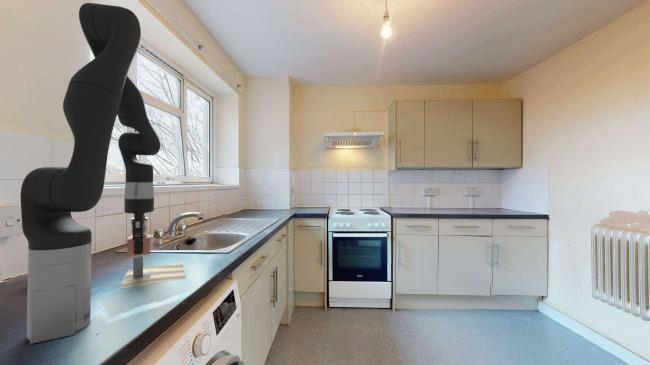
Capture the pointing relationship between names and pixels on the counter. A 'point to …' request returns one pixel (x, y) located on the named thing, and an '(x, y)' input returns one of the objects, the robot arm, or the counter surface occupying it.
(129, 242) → the brown boxy piece
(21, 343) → the counter surface
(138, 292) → the counter surface
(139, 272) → the d shaft post
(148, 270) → the beige flat rectangular board
